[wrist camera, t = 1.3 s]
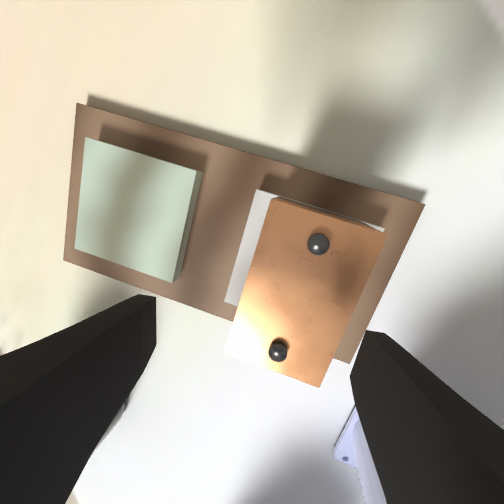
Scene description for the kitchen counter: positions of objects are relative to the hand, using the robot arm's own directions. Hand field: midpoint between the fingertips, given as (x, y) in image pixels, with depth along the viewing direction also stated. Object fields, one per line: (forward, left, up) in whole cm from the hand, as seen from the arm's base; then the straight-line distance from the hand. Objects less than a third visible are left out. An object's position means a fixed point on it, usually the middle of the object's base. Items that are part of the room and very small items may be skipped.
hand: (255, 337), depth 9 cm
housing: (-1, 0, -8) cm, 8 cm away
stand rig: (+5, 0, -10) cm, 11 cm away
